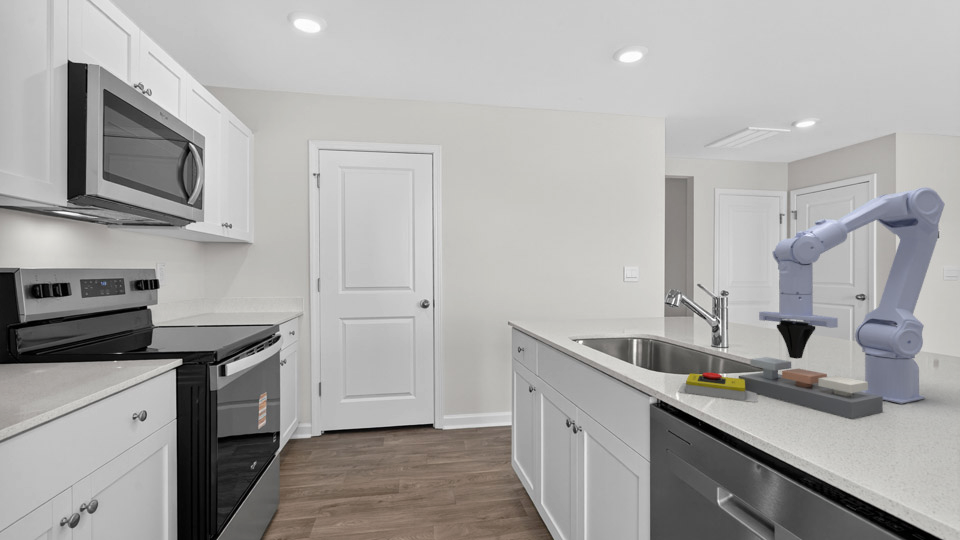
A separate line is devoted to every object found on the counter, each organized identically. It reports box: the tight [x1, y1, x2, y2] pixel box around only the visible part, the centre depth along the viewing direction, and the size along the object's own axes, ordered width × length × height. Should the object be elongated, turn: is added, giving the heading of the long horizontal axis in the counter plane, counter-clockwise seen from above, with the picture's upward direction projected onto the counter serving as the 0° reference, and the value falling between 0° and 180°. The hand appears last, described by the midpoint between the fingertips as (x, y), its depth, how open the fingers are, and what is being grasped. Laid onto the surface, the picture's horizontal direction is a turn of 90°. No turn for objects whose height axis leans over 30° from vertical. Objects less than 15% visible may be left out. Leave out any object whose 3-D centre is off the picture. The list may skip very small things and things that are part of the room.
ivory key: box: [818, 375, 868, 396], centre depth 85 cm, size 6×6×4 cm
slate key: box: [750, 356, 792, 380], centre depth 98 cm, size 6×6×4 cm
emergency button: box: [678, 372, 759, 404], centre depth 97 cm, size 9×4×15 cm
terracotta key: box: [781, 368, 828, 387], centre depth 91 cm, size 6×6×4 cm
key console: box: [738, 372, 884, 420], centre depth 91 cm, size 10×22×3 cm, turn 23°
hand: (795, 357), depth 93 cm, fingers closed
